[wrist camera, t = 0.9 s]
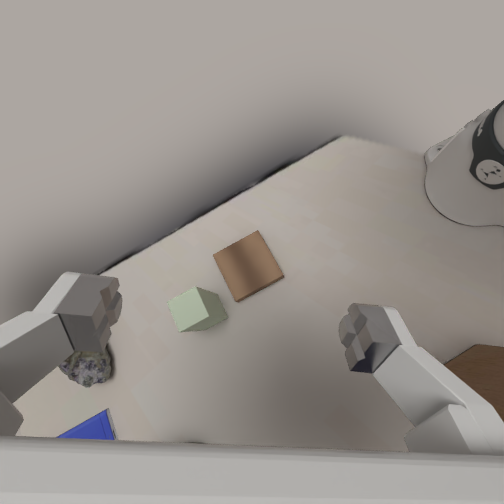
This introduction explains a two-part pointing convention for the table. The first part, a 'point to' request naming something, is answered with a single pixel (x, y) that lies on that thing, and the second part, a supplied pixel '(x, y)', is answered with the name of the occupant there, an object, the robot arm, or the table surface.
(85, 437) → the hard drive
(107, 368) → the mineral rock
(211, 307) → the column
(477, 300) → the table surface
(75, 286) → the robot arm
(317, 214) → the table surface
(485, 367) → the wooden block
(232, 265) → the slab
